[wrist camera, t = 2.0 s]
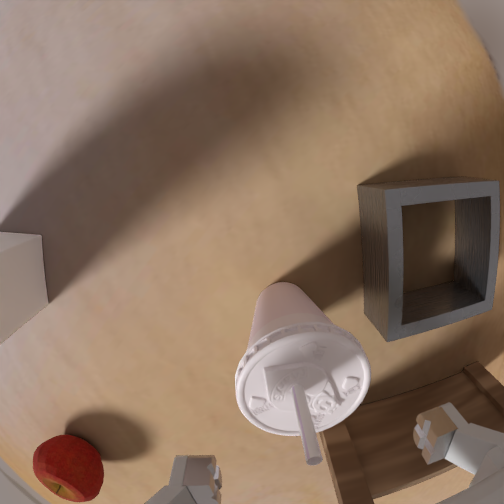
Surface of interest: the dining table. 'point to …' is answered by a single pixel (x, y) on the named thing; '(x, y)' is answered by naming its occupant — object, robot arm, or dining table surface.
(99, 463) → the apple
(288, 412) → the smoothie
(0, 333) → the milk
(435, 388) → the green-topped frame
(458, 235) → the socket
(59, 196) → the dining table surface
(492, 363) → the dining table surface
